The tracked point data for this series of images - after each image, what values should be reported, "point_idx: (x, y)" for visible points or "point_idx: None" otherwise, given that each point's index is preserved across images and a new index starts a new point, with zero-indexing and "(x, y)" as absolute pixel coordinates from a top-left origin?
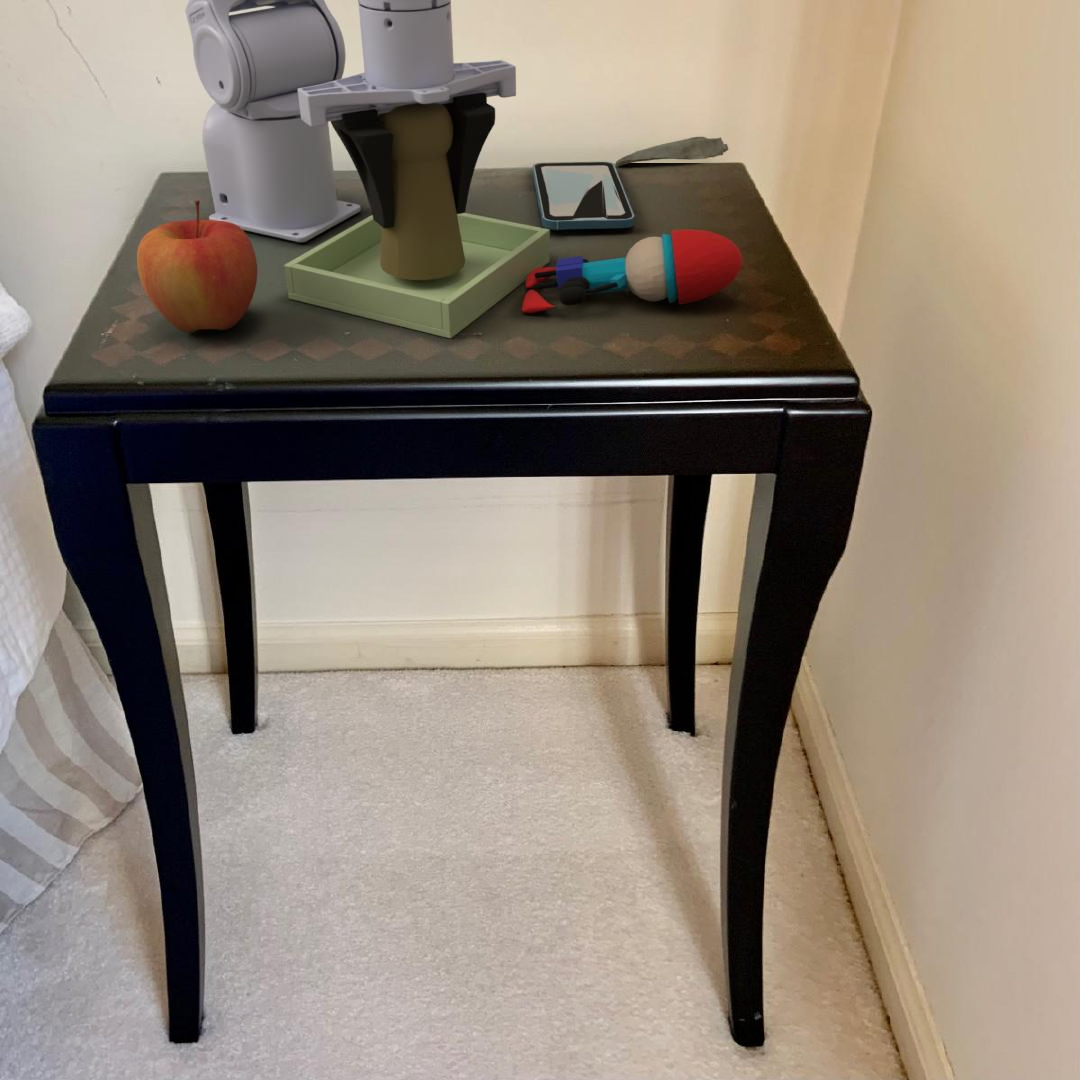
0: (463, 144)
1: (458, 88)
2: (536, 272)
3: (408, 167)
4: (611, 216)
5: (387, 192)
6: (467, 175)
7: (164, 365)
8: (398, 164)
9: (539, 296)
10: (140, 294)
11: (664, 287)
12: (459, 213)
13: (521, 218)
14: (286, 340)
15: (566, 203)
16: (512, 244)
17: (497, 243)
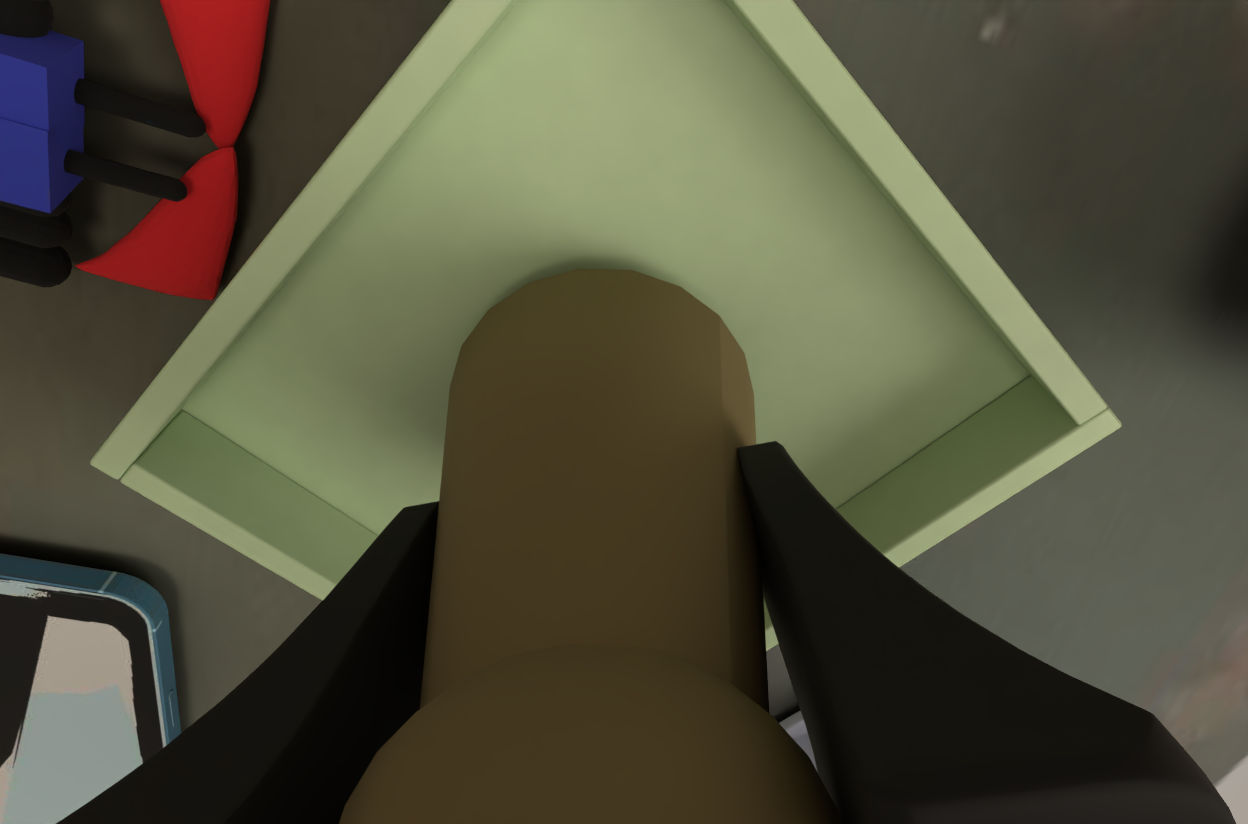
0: (282, 747)
1: None
2: (182, 242)
3: (678, 634)
4: None
5: (798, 531)
6: (332, 616)
7: None
8: (731, 669)
9: (178, 25)
10: None
11: None
12: (427, 503)
13: (240, 677)
14: (1220, 39)
15: (76, 692)
16: (266, 482)
17: (320, 511)
